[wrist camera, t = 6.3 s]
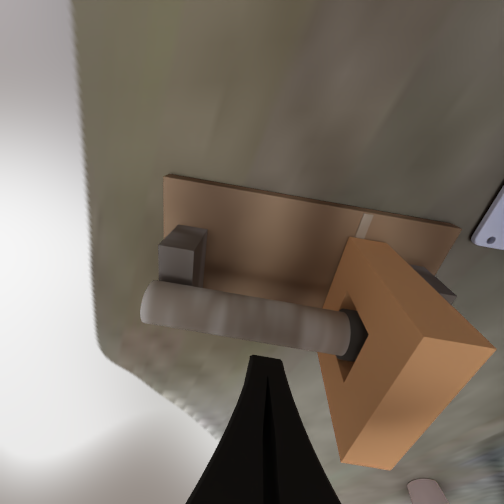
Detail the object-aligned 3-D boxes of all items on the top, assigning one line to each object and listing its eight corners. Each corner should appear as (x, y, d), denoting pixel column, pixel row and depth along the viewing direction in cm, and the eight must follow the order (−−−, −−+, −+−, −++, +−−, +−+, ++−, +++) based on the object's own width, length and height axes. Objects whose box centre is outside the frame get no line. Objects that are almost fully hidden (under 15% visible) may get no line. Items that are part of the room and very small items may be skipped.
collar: (313, 332, 20) (340, 462, 12) (349, 236, 16) (424, 336, 8) (343, 337, 20) (390, 470, 12) (386, 243, 16) (496, 348, 8)
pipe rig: (168, 313, 21) (127, 387, 15) (169, 173, 16) (106, 201, 10) (380, 349, 22) (424, 436, 15) (451, 223, 16) (563, 280, 10)
